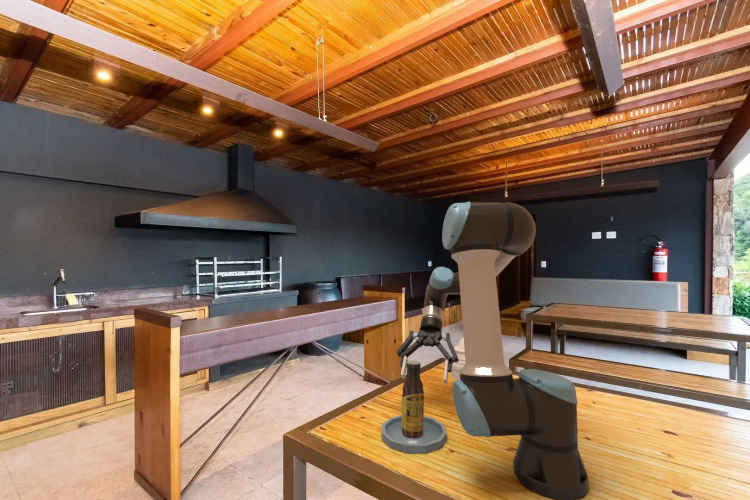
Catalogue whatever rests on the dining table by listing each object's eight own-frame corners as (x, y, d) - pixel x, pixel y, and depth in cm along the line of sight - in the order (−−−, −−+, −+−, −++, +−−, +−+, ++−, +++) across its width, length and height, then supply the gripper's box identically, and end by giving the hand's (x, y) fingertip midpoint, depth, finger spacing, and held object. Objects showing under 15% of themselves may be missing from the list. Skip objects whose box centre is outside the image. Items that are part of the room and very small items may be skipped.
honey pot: (462, 369, 156) (461, 329, 157) (488, 376, 147) (487, 334, 147) (444, 376, 148) (443, 333, 149) (470, 384, 138) (469, 338, 139)
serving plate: (451, 453, 89) (451, 445, 89) (381, 453, 89) (381, 445, 89) (440, 421, 107) (440, 414, 107) (381, 421, 107) (381, 414, 107)
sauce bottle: (406, 440, 94) (405, 366, 94) (398, 429, 100) (397, 360, 100) (428, 436, 96) (427, 364, 96) (419, 426, 102) (418, 358, 102)
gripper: (469, 329, 121) (465, 388, 107) (400, 325, 129) (388, 380, 115) (467, 317, 116) (463, 377, 102) (395, 314, 125) (383, 369, 110)
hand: (423, 379), depth 109 cm, fingers open, 13 cm apart
